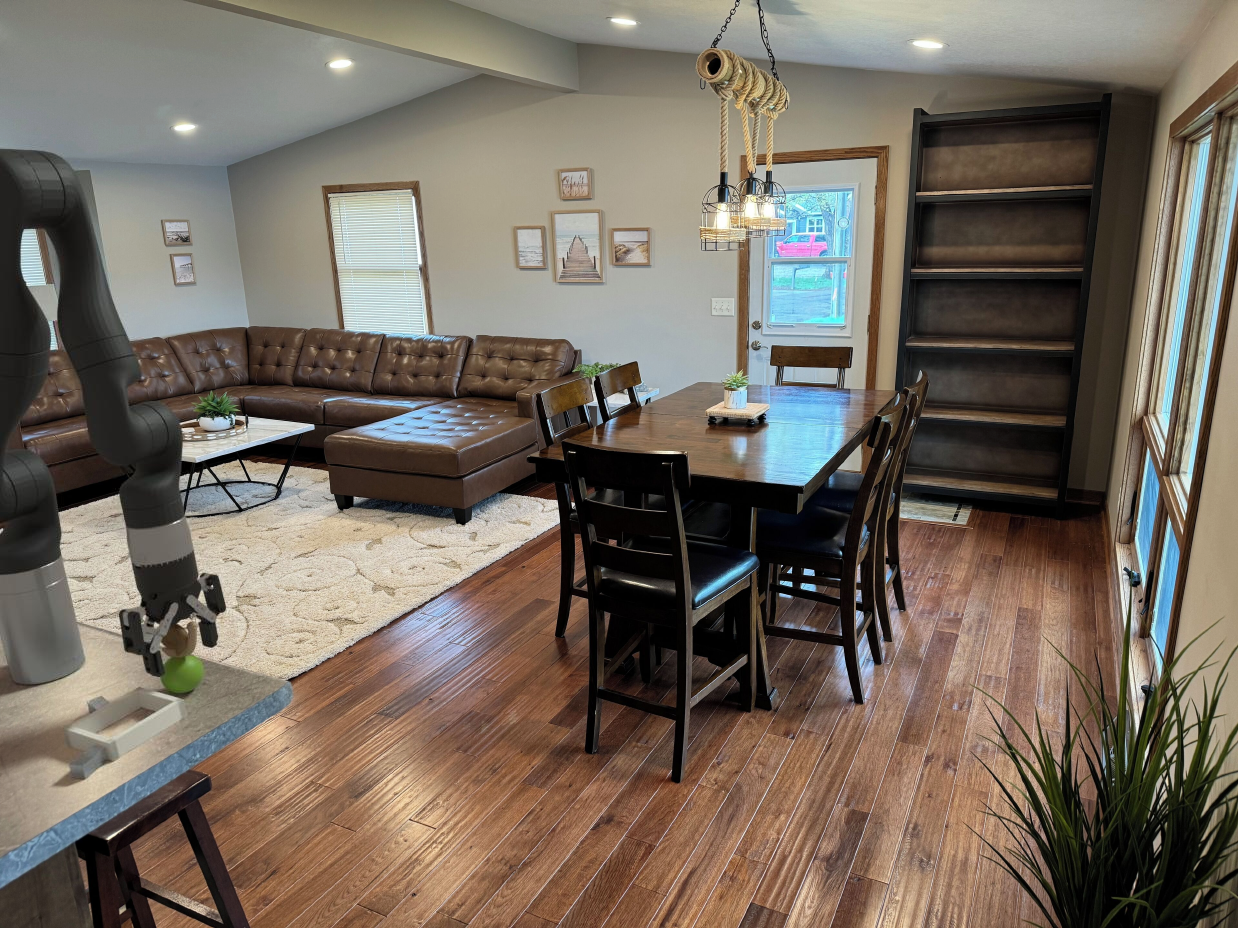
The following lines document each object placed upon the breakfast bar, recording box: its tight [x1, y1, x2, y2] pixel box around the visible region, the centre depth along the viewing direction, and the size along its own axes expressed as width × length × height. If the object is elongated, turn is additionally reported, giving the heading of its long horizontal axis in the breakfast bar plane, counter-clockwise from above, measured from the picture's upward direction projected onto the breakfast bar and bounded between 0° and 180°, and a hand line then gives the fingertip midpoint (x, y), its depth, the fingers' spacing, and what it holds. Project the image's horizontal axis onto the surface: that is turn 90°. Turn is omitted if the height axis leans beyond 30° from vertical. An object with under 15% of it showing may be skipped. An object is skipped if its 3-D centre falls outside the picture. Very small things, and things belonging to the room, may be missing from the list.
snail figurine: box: [159, 613, 205, 694], centre depth 118 cm, size 5×6×12 cm
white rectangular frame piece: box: [63, 686, 188, 780], centre depth 109 cm, size 13×15×2 cm
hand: (184, 660), depth 118 cm, fingers open, 8 cm apart
